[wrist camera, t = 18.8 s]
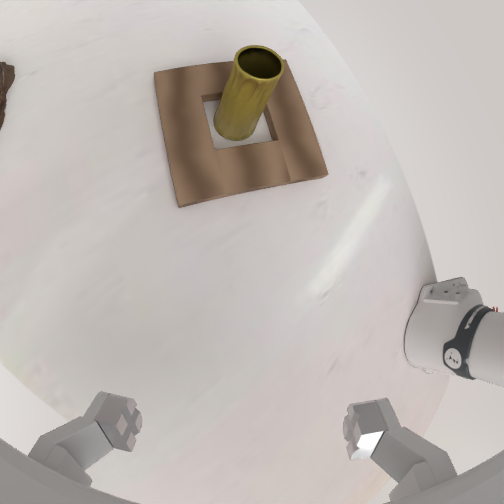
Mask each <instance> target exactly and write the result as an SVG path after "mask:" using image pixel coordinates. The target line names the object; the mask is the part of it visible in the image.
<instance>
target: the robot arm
mask: <svg viewBox="0 0 504 504" xmlns="http://www.w3.org/2000/svg"><path fill="white" fill-rule="evenodd" d="M405 353H406V357H407V359H408V361H409V363H410V364H411V365H413V366H414V367H419V368H423V369H424V370H425V371H426V372H427V373H433V372H434V371H435V372H439V373H443V374H448V375H453V376H456V375H458V376H461V377H463V378H466V379H472V380H474V379H480V380H483V381H486V382H489V383H492V384H495V385H498V386H502V387H504V313H501V312H498V308H496V312H495V308H494V307H493V309H491V308H489V307H488V306H484V305H483V302H482V298H481V296H480V293H479V292H478V291H477V290H475V289H469V288H468V285H467V282H466V280H465V278H463V277H460V278H455V279H451V280H447V281H443V282H438V283H434V284H430V285H425V286H424V287H423V288H422V290H421V293H420V297H419V301H418V304H417V306H416V308H415V310H414V311H413V313H412V315H411V317H410V320H409V323H408V326H407V329H406V334H405ZM136 405H137V404H136V402H135V400H134V399H132V398H127V397H123V396H119V395H114V394H110V393H106V392H102V391H101V392H99V393H98V394H97V395H96V397H95V398H94V400H93V402H92V403H91V405H90V406H89V408H88V410H87V411H86V413H85V415H84V416H83V417H81V416H80V417H78V418H76V419H74V420H72V421H70V422H68V423H66V424H64V425H62V426H60V427H58V428H56V429H54V430H52V431H50V432H48V433H46V434H44V435H42V436H40V438H39V439H38V440H37V442H36V444H35V445H34V447H33V448H32V450H31V451H30V453H29V455H28V456H27V455H25V454H24V453H22V452H20V451H19V450H17V449H15V448H14V447H13V446H11V445H10V444H8V443H6V442H5V441H4V440H2V439H1V438H0V504H139V503H136V502H132V501H129V500H125V499H122V498H119V497H116V496H113V495H110V494H107V493H104V492H102V491H99V490H96V489H94V488H91V487H90V485H91V483H92V479H91V477H90V476H89V475H88V474H87V473H86V472H85V470H86V469H87V468H89V467H90V466H91V465H93V464H94V463H95V462H97V461H98V460H99V459H101V458H102V457H103V456H105V455H106V454H107V453H109V452H110V451H111V450H113V448H116V449H120V450H125V451H129V452H132V450H133V447H134V445H135V442H136V438H135V435H136V434H138V433H139V432H140V430H141V427H142V416H141V413H140V411H138V410H137V409H136V408H135V407H136ZM347 412H348V415H347V416H346V417H345V418H344V422H343V434H344V439H346V440H347V441H348V442H349V443H348V445H347V451H348V455H349V459H350V460H357V459H363V458H368V457H371V459H372V460H373V461H374V462H375V463H376V464H378V465H379V466H380V467H381V468H382V469H383V470H384V471H385V472H386V473H388V474H389V475H390V476H391V477H392V478H393V479H394V480H396V481H397V482H398V485H397V486H396V487H395V488H394V489H393V490H392V491H391V492H390V494H389V497H390V501H391V502H387V503H384V504H504V450H503V451H501V452H500V453H498V454H497V455H495V456H493V457H492V458H490V459H488V460H487V461H485V462H483V463H481V464H480V465H478V466H476V467H474V468H472V469H470V470H468V471H466V472H464V473H462V474H460V475H457V473H456V471H455V469H454V466H453V464H452V462H451V460H450V458H449V456H448V454H447V452H446V451H444V450H442V449H440V448H438V447H437V446H435V445H434V444H432V443H430V442H429V441H427V440H425V439H424V438H422V437H420V436H419V435H417V434H415V433H414V432H412V431H411V430H409V429H407V428H406V427H401V426H400V423H399V421H398V419H397V417H396V414H395V412H394V410H393V408H392V406H391V404H390V401H389V399H387V398H383V399H378V400H371V401H365V402H359V403H352V404H349V406H348V408H347Z"/></svg>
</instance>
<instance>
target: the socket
mask: <svg viewBox="0 0 504 504" xmlns="http://www.w3.org/2000/svg"><path fill="white" fill-rule="evenodd" d="M233 63H234V61H230V62H219V63H209V64H201V65H194V66H187V67H181V68H175V69H170V70H164V71H159V72H154V79H155V86H156V93H157V99H158V105H159V111H160V117H161V123H162V129H163V134H164V139H165V145H166V150H167V155H168V160H169V165H170V170H171V175H172V179H173V184H174V189H175V193H176V198H177V202H178V207H179V208H181V207H185V206H189V205H193V204H197V203H201V202H205V201H209V200H214V199H218V198H223V197H227V196H232V195H236V194H241V193H245V192H250V191H255V190H260V189H265V188H270V187H275V186H280V185H285V184H291V183H296V182H302V181H308V180H313V179H319V178H323V177H325V176H326V175H328V171H327V168H326V165H325V162H324V158H323V155H322V152H321V149H320V146H319V143H318V140H317V138H316V135H315V132H314V129H313V126H312V123H311V121H310V118H309V115H308V113H307V110H306V107H305V105H304V102H303V100H302V97H301V95H300V92H299V90H298V87H297V85H296V82H295V80H294V77H293V75H292V73H291V70H290V68H289V66H288V63H287V61H286V60H283V63H284V71H283V74H282V75H281V77H280V79H279V80H278V82H277V84H276V86H275V88H274V90H273V92H272V94H271V96H270V98H269V100H268V102H267V104H266V106H265V108H264V110H263V111H264V114H265V117H266V121H267V124H268V127H269V130H270V133H271V136H272V139H273V141H269V142H262V143H255V144H248V145H242V146H236V147H230V148H225V149H219V150H214V146H213V142H212V138H211V134H210V130H209V126H208V122H207V118H206V114H205V110H204V106H203V102H206V101H212V100H219V99H221V98H222V94H223V91H224V88H225V85H226V83H227V81H228V79H229V76H230V73H231V70H232V66H233Z"/></svg>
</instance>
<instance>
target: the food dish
mask: <svg viewBox="0 0 504 504" xmlns="http://www.w3.org/2000/svg"><path fill="white" fill-rule="evenodd" d="M14 78H15V74H14V66H12V65H6V63H5V62H0V129H1V127H2V124H3V122H4V116H5V112H4V110H5V107H6V94H7V91H8V89H9V88H10V87H11V85H12V83H13V81H14Z"/></svg>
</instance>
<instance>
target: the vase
mask: <svg viewBox="0 0 504 504" xmlns="http://www.w3.org/2000/svg"><path fill="white" fill-rule="evenodd" d="M283 71H284V63H283V60H282V58H281V57H280V56H279V55H278V54H277V53H276V52H275V51H273V50H272V49H269V48H267V47H264V46H258V45H251V46H246V47H244V48H242V49H240V50H239V51H238V52H237V53H236V55H235V58H234V63H233V66H232V70H231V73H230V76H229V79H228V81H227V83H226V85H225V88H224V91H223V94H222V98H221V101H220V104H219V106H218V109H217V112H216V114H215V116H214V126H215V128H216V130H217V132H218V133H219V134H220V135H222V136H223V137H225V138H227V139H230V140H243V139H246V138H248V137H249V136H250V135H252V133H253V132H254V130H255V128H256V125H257V123H258V120H259V118H260V116H261V114H262V112H263V110H264V108H265V106H266V104H267V102H268V100H269V98H270V96H271V94H272V92H273V90H274V88H275V86H276V84H277V82H278V80H279V79H280V77H281V75H282V74H283Z"/></svg>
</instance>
